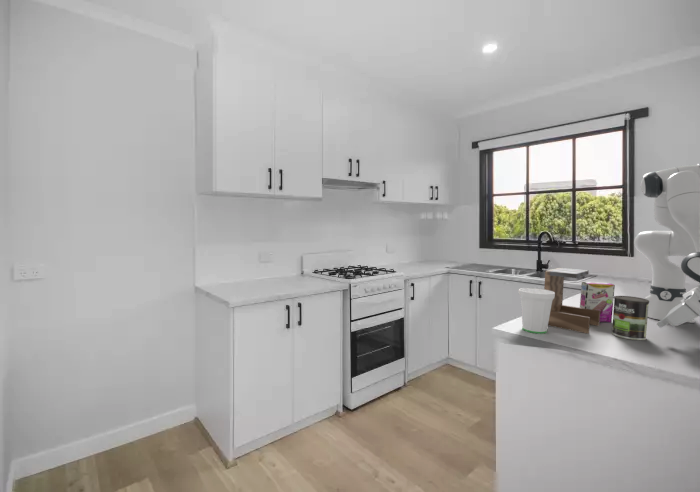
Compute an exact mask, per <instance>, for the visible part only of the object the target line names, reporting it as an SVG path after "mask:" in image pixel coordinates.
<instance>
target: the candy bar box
mask: <svg viewBox="0 0 700 492" xmlns="http://www.w3.org/2000/svg"><path fill="white" fill-rule="evenodd" d="M580 286H581V288H580V299H579V300H580V301H579V308H585V309H592V310H598V311H600V321H599V323H613V310H614V296H615V284H613V283H609V282H599V281H598V282H597V281H596V282H595V281H581V285H580Z"/></svg>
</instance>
